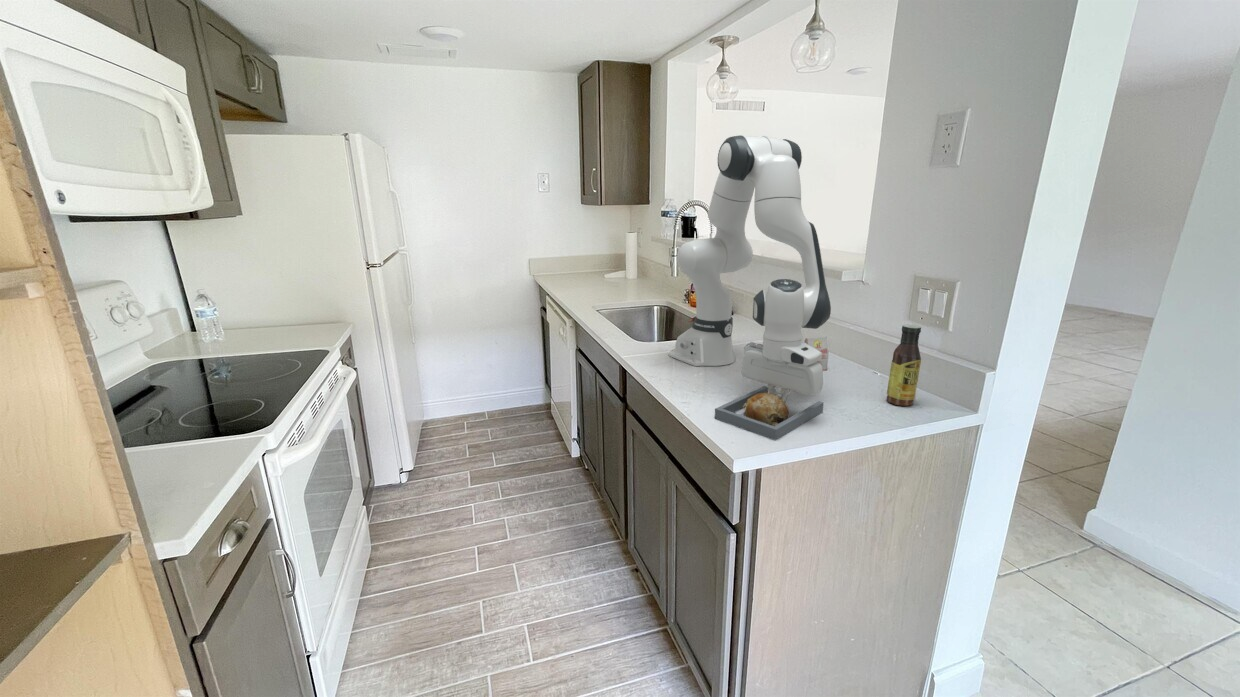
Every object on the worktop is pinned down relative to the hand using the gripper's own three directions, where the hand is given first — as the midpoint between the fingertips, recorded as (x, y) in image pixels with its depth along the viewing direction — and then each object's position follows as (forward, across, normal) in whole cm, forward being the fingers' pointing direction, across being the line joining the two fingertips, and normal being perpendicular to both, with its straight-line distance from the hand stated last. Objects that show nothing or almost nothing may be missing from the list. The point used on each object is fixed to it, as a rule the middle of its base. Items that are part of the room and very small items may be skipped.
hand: (778, 402), depth 125 cm
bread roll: (+2, 0, -6) cm, 6 cm away
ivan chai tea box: (+2, -9, +35) cm, 36 cm away
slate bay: (+2, 0, -3) cm, 4 cm away
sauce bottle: (+2, +19, +26) cm, 32 cm away
